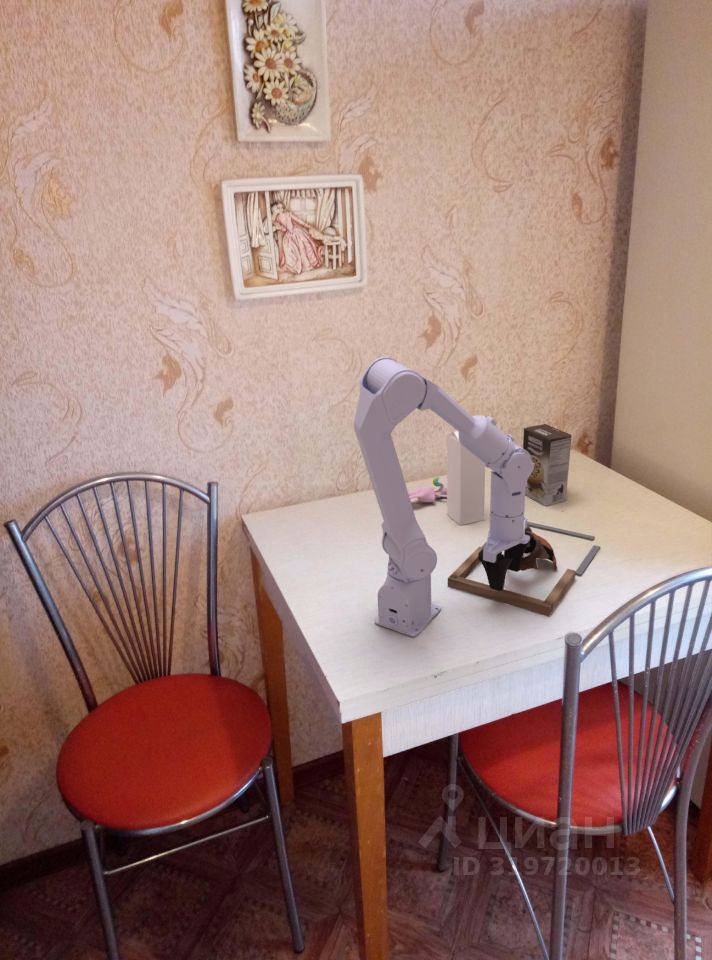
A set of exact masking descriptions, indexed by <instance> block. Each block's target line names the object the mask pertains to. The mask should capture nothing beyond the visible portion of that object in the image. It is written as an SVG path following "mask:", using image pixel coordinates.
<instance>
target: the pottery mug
mask: <svg viewBox="0 0 712 960" xmlns="http://www.w3.org/2000/svg"><path fill="white" fill-rule="evenodd" d="M525 532H529V533H531V534H532V539H531V540H530V542H529V543H528V545H527V547H526V549H525V552H524V555H525V554H528V555H525V556H523V558H522V562H521V565H520V568H519V570H518V572H520V571H522V572H523V571H527V570H530V569H531V570H532V569H533V570H535V571H537V570H539V567H538V562H537V561H538V560H548V561H551V562H552V564H553V568H554V571H558V565H557V564H558V563H557V558H556V556H555V551H554V549H553V547H552V545H551V544H550V543H549V542H548V540H547V539H545V538H543V537H542V536H540V535H538V534H536V533H534V532H533V530H532V527H530V526H527V528H526V529H525ZM503 554H504V557H505V553H504V552H503ZM537 559H538V560H537Z"/></svg>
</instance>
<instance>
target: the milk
mask: <svg viewBox="0 0 712 960" xmlns="http://www.w3.org/2000/svg"><path fill="white" fill-rule="evenodd" d="M446 481H447V483H446V487H447V498H446V499H447V500H446V507H447V509H446V512H447V513H446V515H447V516H448V517H449V518H451V519H452V520H453V521H454V522H456V524H458V525H459V526H464V525H467V524H471V523H472V524H473V523H476V522H481V521H484V520H485V497H486V496H485V495H486V494H485V491H486V484H485V483H486V465H485V463H484V462H482V461H481V460H480V459H479V458H477V457H476V456H475V455H474V454H473V453H471V452H470V451H469V450H468V449H466V448H465V447H464V446H463V445H461V444H460V442H459V432H458V430H456V429H455V428H454V427H453V431H452V432H450V433H449V434H447V435H446Z"/></svg>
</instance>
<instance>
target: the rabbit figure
mask: <svg viewBox="0 0 712 960" xmlns="http://www.w3.org/2000/svg"><path fill="white" fill-rule="evenodd" d="M439 479H440V477H435V478H433V480H432V484H433V485H434V486H435V487H439V488H438V489H437V490H435V487H433V486H432V487H429V486H424V485H423V486H421V487H419V488H417V489H410V490H408V489H407V491H408V494H409V498H410V500H411V499H416V498H417V499H418V500H419V502H421V503H429V504H430V503H433V502H435V501H436V498H439V499H440V498H446V499H447V485H444V483H442V482H440V481H439Z"/></svg>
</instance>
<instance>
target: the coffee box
mask: <svg viewBox="0 0 712 960" xmlns="http://www.w3.org/2000/svg"><path fill="white" fill-rule="evenodd" d="M522 439H523V441H522V442H523V443H522V448H523V449H525V450H526V451H528V452H529V454H530V456H531V457H530V458H531V459H532V462H533V463H535V464H534V469H533V471H532V473H531V475H530V476H529V478H528V480H527V487H526V489H525V497H529V498H530V499H532V500H533V501H536V502H537V503H538V504H540V505H543V506H544V507H548V506H551V505H554V504H558V503H562V502H565V501H567V492H568V491H567V490H568V482H569V481H568V478H569V470H570V468H569V467H570V456H571V446H572V445H571V444H572V434H571V433H568V432H566V431H563V430H562V429H561V430H560V429H559V428H556V427H553V426H551V425H549V424H547V423H543V424H539V425H531V426H528V427H524V428H523V437H522Z"/></svg>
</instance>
